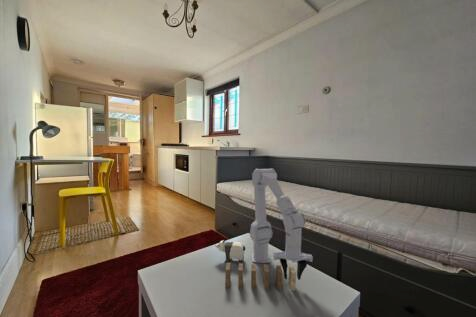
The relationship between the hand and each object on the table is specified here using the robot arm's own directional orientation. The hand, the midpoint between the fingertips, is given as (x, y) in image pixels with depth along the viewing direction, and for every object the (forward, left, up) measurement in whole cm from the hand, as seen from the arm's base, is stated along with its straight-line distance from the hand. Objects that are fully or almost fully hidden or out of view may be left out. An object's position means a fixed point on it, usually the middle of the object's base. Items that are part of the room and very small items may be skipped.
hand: (291, 277), depth 77 cm
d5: (0, -5, -4) cm, 6 cm away
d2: (0, -20, -4) cm, 20 cm away
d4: (0, -10, -4) cm, 11 cm away
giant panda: (-16, -25, -4) cm, 30 cm away
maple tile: (0, 0, -4) cm, 4 cm away
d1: (0, -25, -4) cm, 25 cm away
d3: (0, -15, -4) cm, 15 cm away
